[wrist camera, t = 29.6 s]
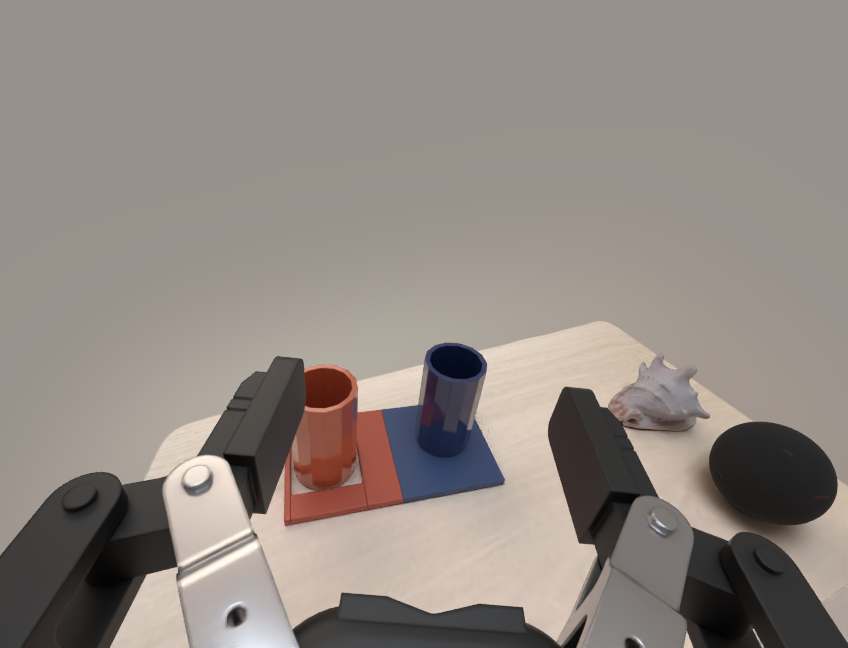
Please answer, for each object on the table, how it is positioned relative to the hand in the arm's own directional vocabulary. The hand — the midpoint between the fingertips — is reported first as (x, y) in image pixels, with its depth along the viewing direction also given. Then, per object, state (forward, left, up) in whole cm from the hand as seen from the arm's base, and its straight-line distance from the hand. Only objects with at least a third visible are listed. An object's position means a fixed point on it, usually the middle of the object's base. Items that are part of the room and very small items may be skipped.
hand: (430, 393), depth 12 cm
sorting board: (+4, +19, -28) cm, 34 cm away
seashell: (+40, +19, -28) cm, 53 cm away
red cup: (-3, +19, -28) cm, 34 cm away
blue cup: (+11, +20, -27) cm, 35 cm away
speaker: (+41, +6, -28) cm, 50 cm away
